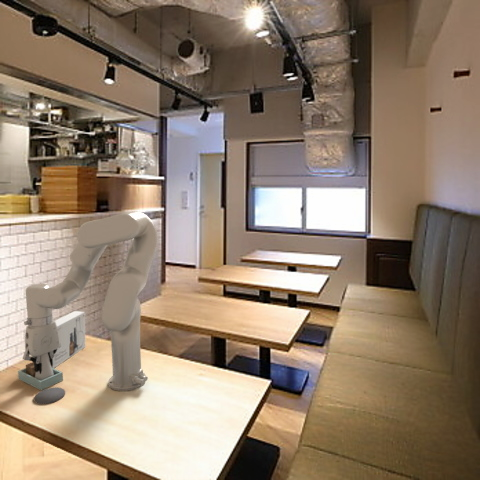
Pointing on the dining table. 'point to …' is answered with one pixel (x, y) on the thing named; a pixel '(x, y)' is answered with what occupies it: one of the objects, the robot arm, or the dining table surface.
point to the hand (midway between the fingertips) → (44, 370)
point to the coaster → (49, 395)
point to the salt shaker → (44, 368)
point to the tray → (38, 383)
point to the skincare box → (70, 336)
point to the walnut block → (30, 369)
